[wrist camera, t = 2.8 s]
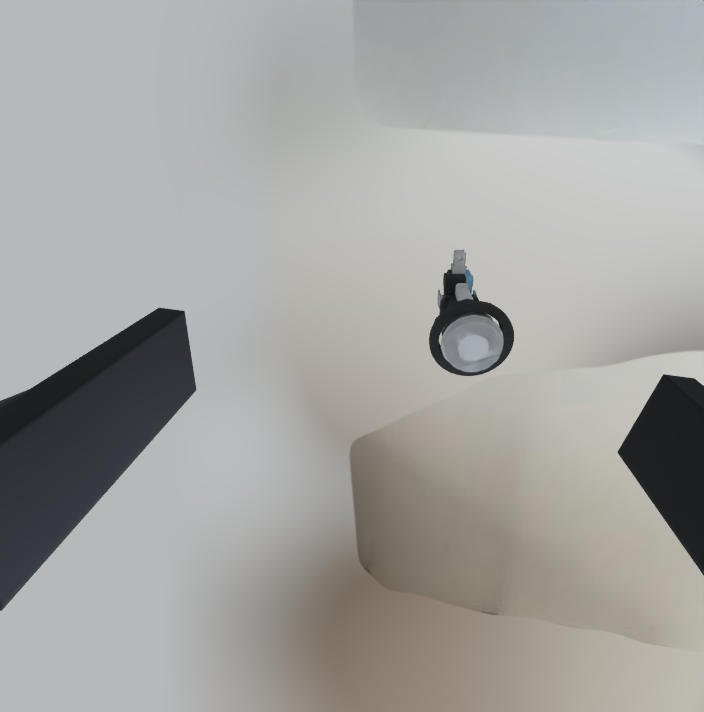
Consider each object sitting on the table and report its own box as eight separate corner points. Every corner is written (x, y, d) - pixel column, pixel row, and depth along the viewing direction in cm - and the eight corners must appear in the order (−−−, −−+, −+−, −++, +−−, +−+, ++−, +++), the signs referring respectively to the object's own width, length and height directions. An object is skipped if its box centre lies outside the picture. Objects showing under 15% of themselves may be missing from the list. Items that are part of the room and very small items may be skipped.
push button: (426, 248, 31) (434, 287, 22) (493, 248, 30) (529, 287, 21) (422, 323, 34) (428, 382, 25) (483, 323, 33) (510, 385, 24)
